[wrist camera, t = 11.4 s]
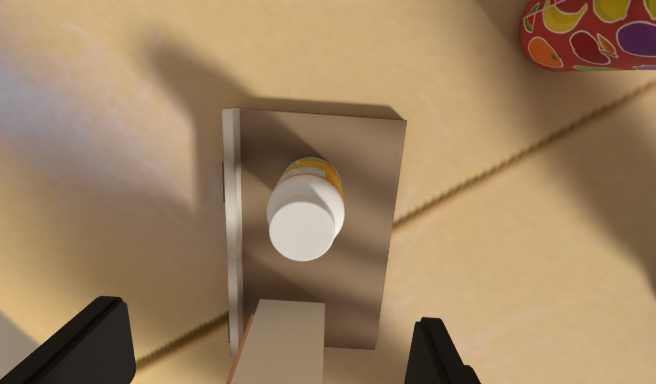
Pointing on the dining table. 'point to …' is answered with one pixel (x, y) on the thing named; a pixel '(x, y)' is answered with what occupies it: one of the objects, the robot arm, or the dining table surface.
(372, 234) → the thin taupe panel
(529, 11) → the smoothie
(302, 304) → the carton
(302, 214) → the supplement bottle
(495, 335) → the dining table surface
